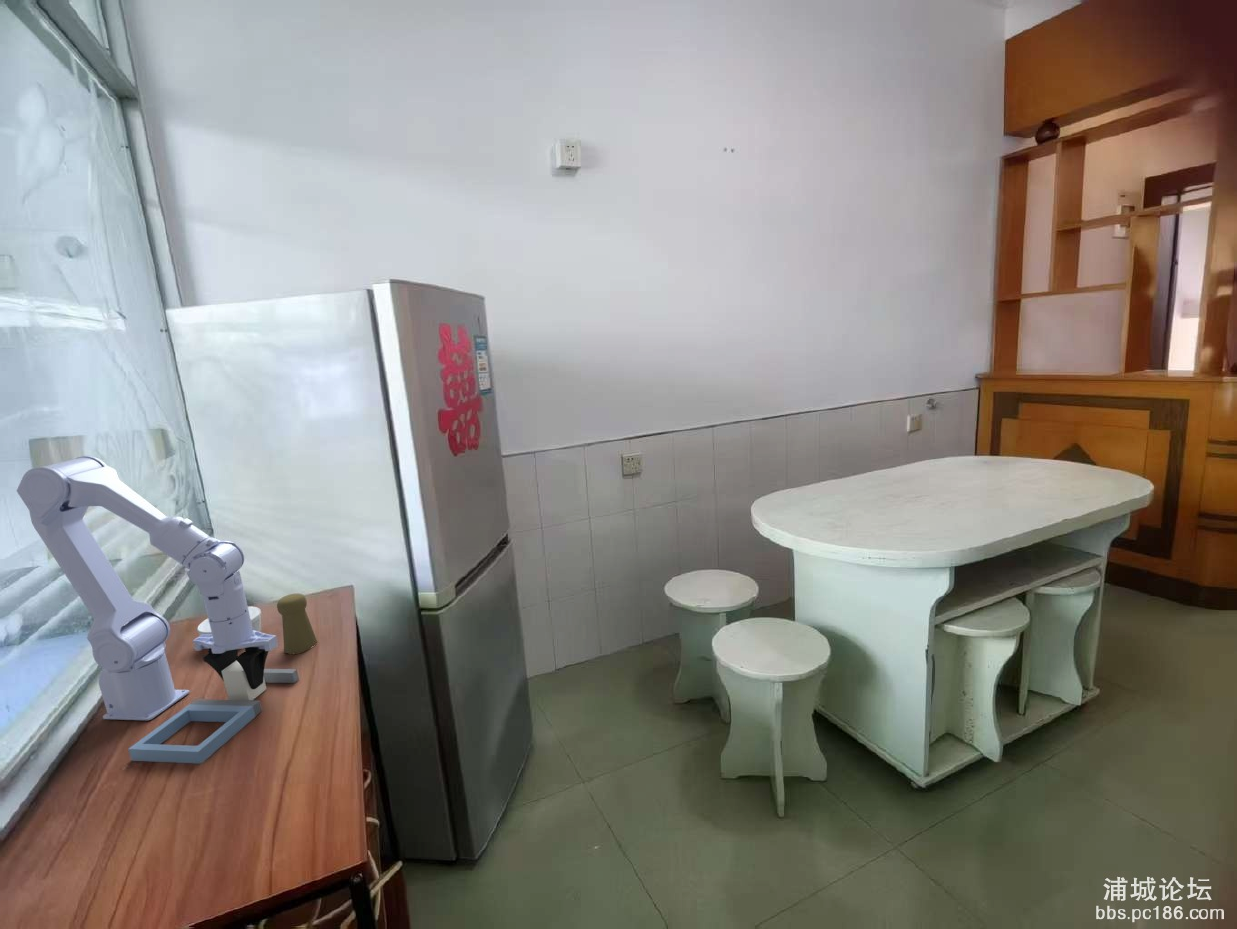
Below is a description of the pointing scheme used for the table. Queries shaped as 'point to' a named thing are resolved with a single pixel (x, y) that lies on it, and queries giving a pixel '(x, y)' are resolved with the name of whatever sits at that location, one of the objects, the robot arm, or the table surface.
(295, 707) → the table surface
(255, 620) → the ramekin
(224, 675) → the cream white block
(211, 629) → the robot arm
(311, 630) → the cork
